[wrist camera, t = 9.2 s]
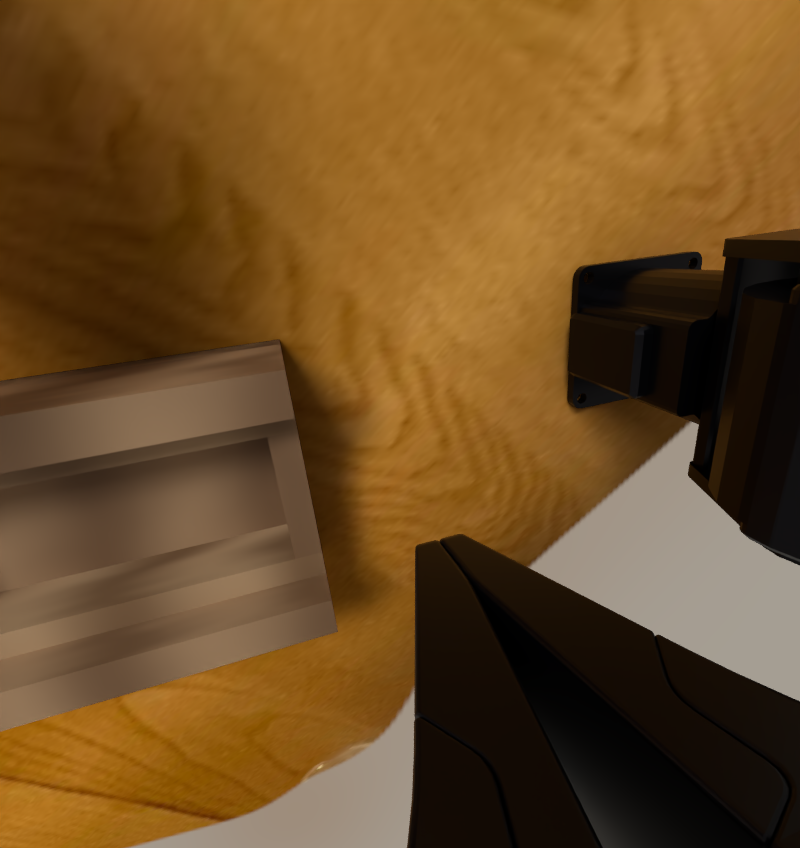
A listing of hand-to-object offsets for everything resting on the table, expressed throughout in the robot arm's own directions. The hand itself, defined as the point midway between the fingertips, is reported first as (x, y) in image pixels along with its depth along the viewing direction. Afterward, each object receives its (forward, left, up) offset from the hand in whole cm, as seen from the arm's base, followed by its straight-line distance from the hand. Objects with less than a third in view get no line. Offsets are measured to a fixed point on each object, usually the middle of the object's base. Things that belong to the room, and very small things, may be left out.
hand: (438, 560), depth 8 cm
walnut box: (+9, +3, -12) cm, 15 cm away
